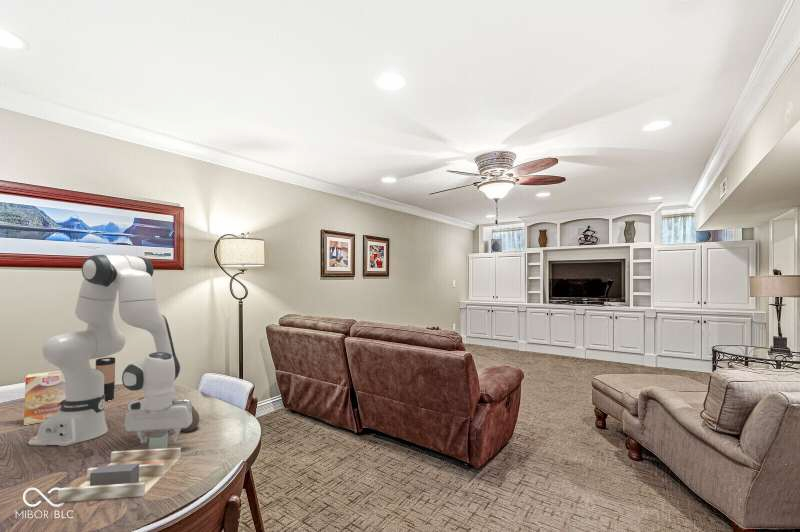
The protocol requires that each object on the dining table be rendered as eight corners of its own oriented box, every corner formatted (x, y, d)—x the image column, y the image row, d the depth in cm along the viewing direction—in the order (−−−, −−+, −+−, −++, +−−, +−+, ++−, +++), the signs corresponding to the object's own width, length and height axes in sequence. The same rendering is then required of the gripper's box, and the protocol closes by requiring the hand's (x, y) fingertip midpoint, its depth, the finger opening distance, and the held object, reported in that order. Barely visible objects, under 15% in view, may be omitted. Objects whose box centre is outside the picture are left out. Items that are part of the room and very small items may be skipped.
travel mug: (101, 398, 185) (102, 357, 185) (118, 397, 185) (119, 357, 186) (90, 403, 177) (91, 360, 178) (107, 402, 178) (108, 360, 179)
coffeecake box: (23, 426, 148) (25, 377, 149) (24, 421, 153) (26, 374, 154) (73, 417, 158) (74, 371, 159) (73, 413, 163) (74, 368, 164)
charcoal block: (89, 492, 99) (90, 473, 99) (99, 484, 103) (100, 466, 103) (130, 489, 101) (130, 470, 101) (138, 481, 105) (139, 463, 105)
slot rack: (57, 506, 95) (58, 490, 95) (112, 464, 117) (113, 451, 117) (142, 499, 97) (142, 484, 98) (180, 460, 119) (180, 447, 119)
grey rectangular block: (148, 453, 124) (149, 434, 125) (154, 447, 128) (155, 430, 129) (161, 452, 125) (162, 434, 125) (167, 447, 129) (167, 429, 129)
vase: (190, 434, 140) (190, 410, 140) (174, 432, 141) (174, 409, 142) (203, 427, 147) (203, 404, 147) (188, 426, 148) (188, 403, 148)
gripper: (195, 396, 132) (195, 436, 131) (133, 399, 129) (132, 440, 129) (188, 402, 126) (187, 443, 125) (122, 405, 123) (121, 448, 122)
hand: (159, 442), depth 127 cm, fingers open, 8 cm apart
